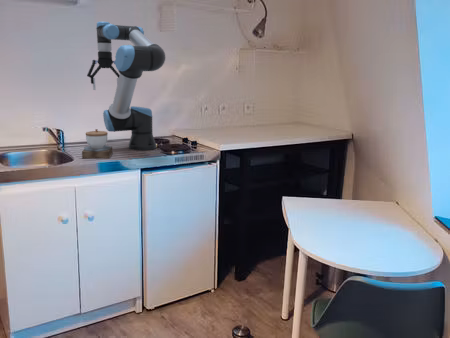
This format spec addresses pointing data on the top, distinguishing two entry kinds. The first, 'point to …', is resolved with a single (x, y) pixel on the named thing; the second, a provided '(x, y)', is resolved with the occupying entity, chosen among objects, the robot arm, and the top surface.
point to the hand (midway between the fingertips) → (106, 89)
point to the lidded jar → (96, 139)
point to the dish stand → (97, 152)
